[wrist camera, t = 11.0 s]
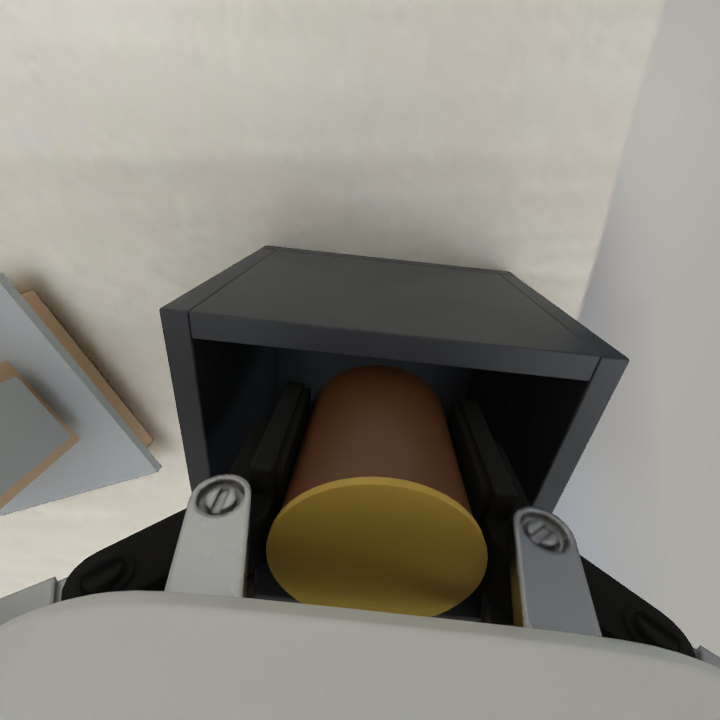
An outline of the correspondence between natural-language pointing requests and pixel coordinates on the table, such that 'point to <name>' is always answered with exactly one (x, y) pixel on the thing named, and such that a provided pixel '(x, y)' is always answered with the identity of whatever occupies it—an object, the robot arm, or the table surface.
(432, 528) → the cylinder
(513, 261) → the table surface
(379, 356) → the dark grey hollow box
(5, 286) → the desk lamp
